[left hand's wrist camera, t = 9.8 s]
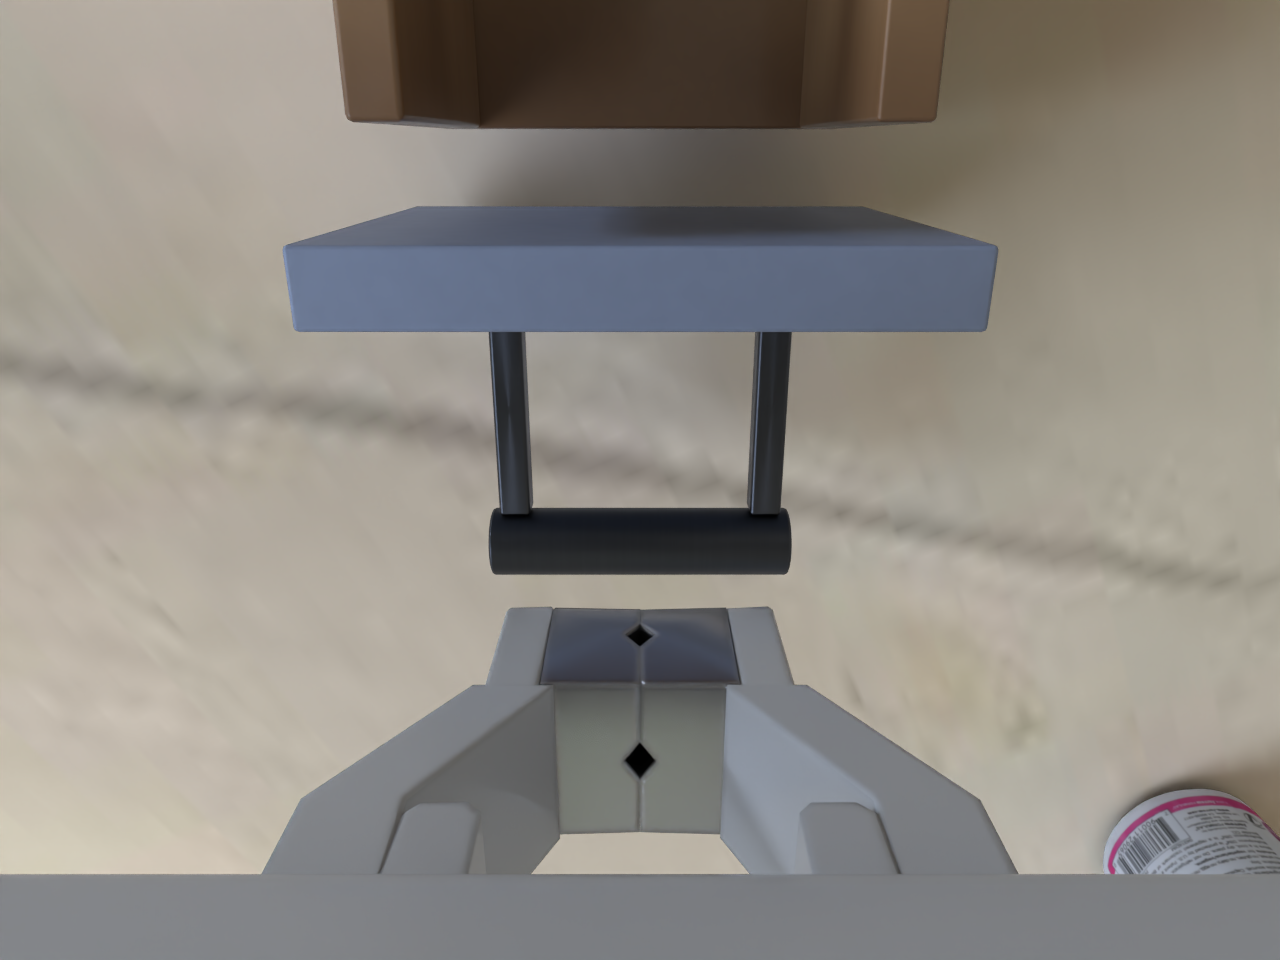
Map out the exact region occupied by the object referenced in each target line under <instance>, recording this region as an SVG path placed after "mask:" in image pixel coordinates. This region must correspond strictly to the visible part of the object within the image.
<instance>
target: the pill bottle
mask: <svg viewBox="0 0 1280 960" xmlns="http://www.w3.org/2000/svg"><path fill="white" fill-rule="evenodd" d="M1103 868H1104V874H1280V838H1279V837H1278V836H1277V835H1276V834H1275V833H1274V831H1273V830H1272V829H1271V828H1270V827H1269V826H1268V825H1267V824H1266V823H1265V822H1264V821H1263V820H1262V819H1261V818H1260V817H1259V816H1258V815H1257V814H1256V813H1255V812H1254V811H1253V810H1252V809H1251V808H1250V807H1249V806H1248V805H1247V804H1245V803H1244V802H1243V801H1241V800H1240V799H1238V798H1236V797H1234V796H1232V795H1230V794H1227V793H1225V792H1221V791H1217V790H1209V789H1188V790H1178V791H1173V792H1168V793H1164V794H1161V795H1159V796H1156V797H1153V798H1151V799H1148V800H1146V801H1144V802H1143V803H1141V804H1139V805H1138V806H1136V807H1135V808H1134V809H1132V810H1131V811H1130V812H1128V813H1127V814H1126V815H1125V816H1124V817H1123V818H1122V819H1121V820H1120V821H1119V822H1118V824H1117V825H1116V826H1115V828H1114V829H1113V831H1112V832H1111V834H1110V836H1109V838H1108V840H1107V843H1106V846H1105V850H1104V856H1103Z"/></svg>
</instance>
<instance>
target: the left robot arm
mask: <svg viewBox="0 0 1280 960" xmlns="http://www.w3.org/2000/svg"><path fill="white" fill-rule="evenodd" d="M620 832H657V833H694V834H720V838H721V839H722V840H723V842H724V843H725V844H726V845H727V847H728V848H729V849H730V850H731V852H732V853H733V854H734V855H735V856H736V858H737V859H738V860H739V861H740V863H741V864H742V865H743V866H744V868H745V869H746V870H747V871H748V872H749V874H531V873H532V872H533V871H534V869H535V868H536V867H537V866H538V865H539V863H540V862H541V861H542V860H543V858H544V857H545V856H546V855H547V854H548V852H549V851H550V850H551V849H552V847H553V846H554V845H555V844H556V843H557V841H558V840H559V839H560V834H585V833H620ZM0 960H1280V874H1018V872H1017V870H1016V868H1015V866H1014V864H1013V862H1012V860H1011V859H1010V857H1009V855H1008V853H1007V851H1006V849H1005V847H1004V845H1003V843H1002V841H1001V839H1000V837H999V835H998V833H997V831H996V830H995V828H994V826H993V824H992V822H991V820H990V818H989V816H988V814H987V812H986V810H985V808H984V806H983V804H982V802H981V801H980V800H979V799H978V798H976V797H975V796H973V795H972V794H970V793H969V792H967V791H966V790H964V789H963V788H961V787H960V786H958V785H957V784H955V783H954V782H952V781H951V780H949V779H948V778H946V777H945V776H943V775H942V774H940V773H939V772H937V771H936V770H934V769H933V768H931V767H930V766H928V765H927V764H925V763H924V762H922V761H921V760H919V759H918V758H916V757H915V756H913V755H912V754H910V753H909V752H907V751H906V750H904V749H903V748H901V747H900V746H898V745H897V744H895V743H894V742H892V741H891V740H889V739H888V738H886V737H885V736H883V735H882V734H880V733H878V732H877V731H875V730H874V729H872V728H871V727H869V726H868V725H866V724H865V723H863V722H862V721H860V720H859V719H857V718H856V717H854V716H853V715H851V714H850V713H848V712H847V711H845V710H844V709H842V708H841V707H839V706H838V705H836V704H835V703H833V702H832V701H830V700H829V699H827V698H826V697H824V696H823V695H821V694H820V693H818V692H817V691H815V690H814V689H812V688H811V687H809V686H808V685H794V681H793V678H792V675H791V671H790V668H789V664H788V661H787V657H786V654H785V651H784V647H783V644H782V640H781V637H780V634H779V630H778V627H777V623H776V620H775V616H774V613H773V610H772V609H771V608H769V607H749V608H727V609H726V608H694V609H652V610H640V609H594V608H555V609H553V608H552V607H524V608H510V609H509V610H508V611H507V612H506V615H505V619H504V622H503V626H502V629H501V633H500V636H499V640H498V643H497V647H496V650H495V653H494V657H493V660H492V664H491V667H490V671H489V674H488V678H487V681H486V685H472V686H471V687H469V688H468V689H466V690H465V691H463V692H462V693H460V694H459V695H457V696H456V697H454V698H453V699H451V700H450V701H448V702H447V703H445V704H444V705H442V706H441V707H439V708H437V709H436V710H434V711H433V712H431V713H430V714H428V715H427V716H425V717H424V718H422V719H421V720H419V721H418V722H416V723H415V724H413V725H412V726H410V727H409V728H407V729H406V730H404V731H403V732H401V733H400V734H398V735H397V736H395V737H394V738H392V739H391V740H389V741H388V742H386V743H385V744H383V745H382V746H380V747H378V748H377V749H375V750H374V751H372V752H371V753H369V754H368V755H366V756H365V757H363V758H362V759H360V760H359V761H357V762H356V763H354V764H353V765H351V766H350V767H348V768H347V769H345V770H344V771H342V772H341V773H339V774H338V775H336V776H335V777H333V778H332V779H330V780H329V781H327V782H326V783H324V784H323V785H321V786H319V787H318V788H316V789H315V790H313V791H312V792H310V793H309V794H307V795H306V796H304V797H303V798H301V800H300V801H299V803H298V805H297V807H296V809H295V811H294V813H293V815H292V817H291V819H290V821H289V822H288V824H287V826H286V828H285V830H284V832H283V834H282V836H281V838H280V840H279V842H278V843H277V845H276V847H275V849H274V851H273V853H272V855H271V857H270V859H269V861H268V863H267V864H266V866H265V868H264V870H263V872H262V874H0Z"/></svg>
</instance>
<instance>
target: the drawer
mask: <svg viewBox="0 0 1280 960" xmlns="http://www.w3.org/2000/svg"><path fill="white" fill-rule="evenodd" d="M949 2H950V0H333V9H334V18H335V27H336V36H337V45H338V53H339V62H340V71H341V80H342V89H343V98H344V107H345V115H346V117H347V119H348V120H350V121H352V122H361V123H376V124H390V125H405V126H420V127H434V128H447V129H836V128H851V127H866V126H881V125H896V124H911V123H927V122H933V121H935V119H936V116H937V107H938V98H939V89H940V80H941V72H942V63H943V54H944V45H945V37H946V28H947V19H948V10H949ZM283 256H284V263H285V270H286V277H287V284H288V291H289V298H290V305H291V312H292V318H293V325H294V329H295V330H296V331H299V332H489V344H490V360H491V376H492V392H493V408H494V424H495V439H496V455H497V471H498V487H499V503H500V508H496V509H494V510H493V512H492V515H491V520H490V527H489V559H490V566H491V569H492V572H493V573H494V574H496V575H718V574H719V575H720V574H786V573H787V572H788V570H789V567H790V561H791V548H792V539H791V525H790V518H789V514H788V512H787V510H786V509H784V508H780V507H781V492H782V476H783V460H784V445H785V429H786V413H787V398H788V382H789V366H790V351H791V335H792V332H982V331H985V330H986V329H987V325H988V318H989V311H990V304H991V297H992V291H993V284H994V277H995V270H996V263H997V256H998V247H997V246H995V245H992V244H989V243H986V242H982V241H979V240H975V239H972V238H968V237H965V236H962V235H958V234H955V233H951V232H948V231H944V230H941V229H938V228H934V227H931V226H927V225H924V224H920V223H917V222H913V221H910V220H907V219H903V218H900V217H896V216H893V215H889V214H886V213H883V212H879V211H876V210H872V209H869V208H865V207H475V206H417V207H414V208H411V209H407V210H404V211H400V212H397V213H393V214H390V215H387V216H383V217H380V218H376V219H373V220H370V221H366V222H363V223H359V224H356V225H353V226H349V227H346V228H342V229H339V230H336V231H332V232H329V233H325V234H322V235H319V236H315V237H312V238H308V239H305V240H302V241H298V242H295V243H291V244H288V245H286V246H284V247H283ZM525 332H755V349H754V370H753V390H752V411H751V431H750V452H749V472H748V493H747V504H748V508H532V505H533V488H532V467H531V446H530V425H529V404H528V383H527V362H526V341H525Z"/></svg>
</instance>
